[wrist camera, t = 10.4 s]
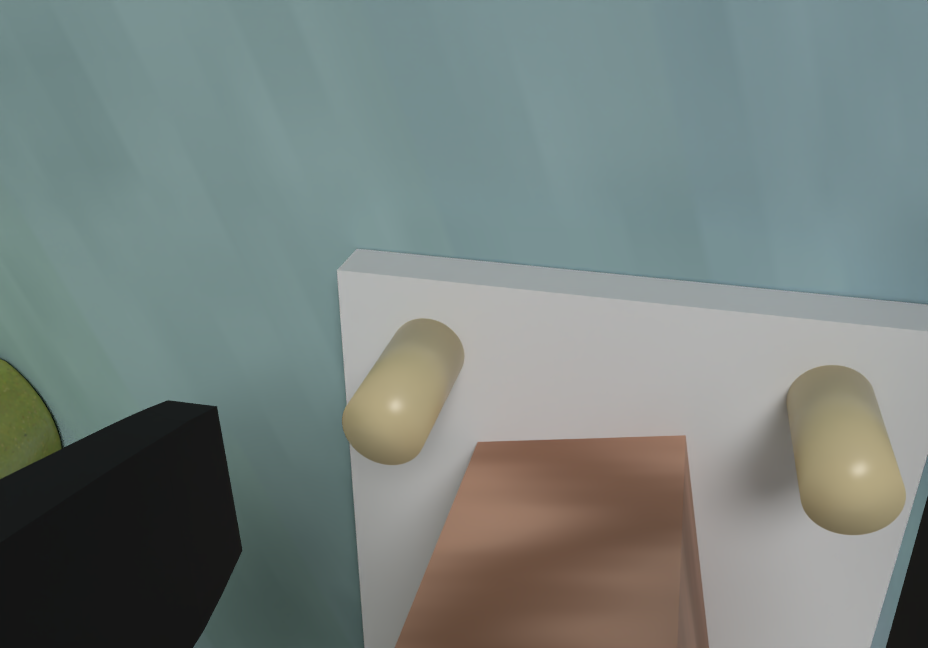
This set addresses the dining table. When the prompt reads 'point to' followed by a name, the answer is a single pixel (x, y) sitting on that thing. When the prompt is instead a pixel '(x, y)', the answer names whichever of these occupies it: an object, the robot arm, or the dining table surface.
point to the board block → (566, 550)
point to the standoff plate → (644, 423)
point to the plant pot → (23, 423)
